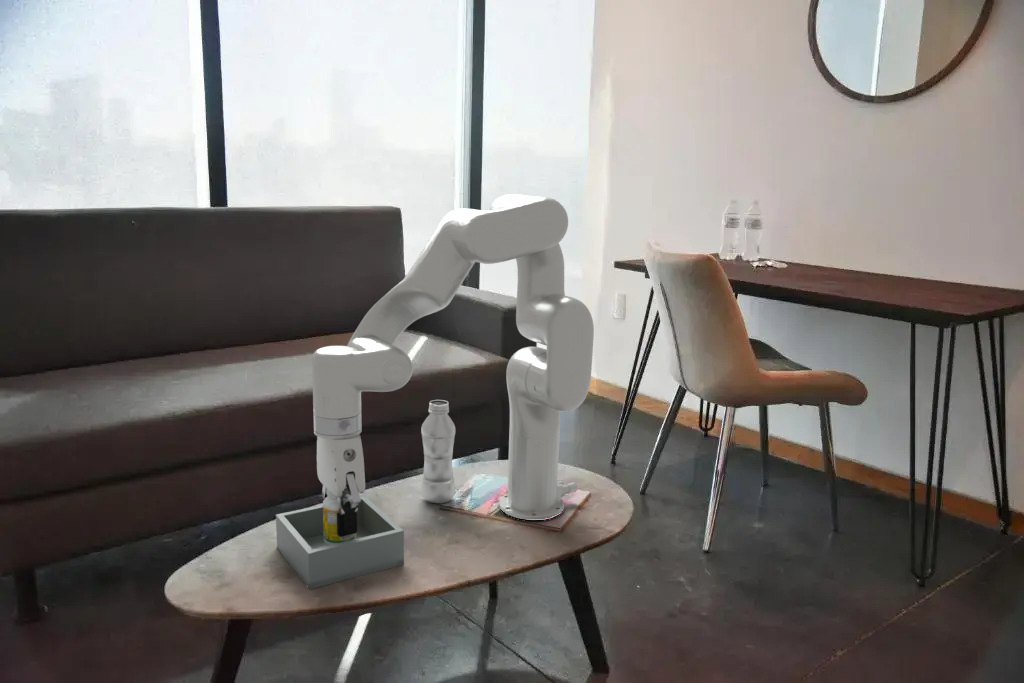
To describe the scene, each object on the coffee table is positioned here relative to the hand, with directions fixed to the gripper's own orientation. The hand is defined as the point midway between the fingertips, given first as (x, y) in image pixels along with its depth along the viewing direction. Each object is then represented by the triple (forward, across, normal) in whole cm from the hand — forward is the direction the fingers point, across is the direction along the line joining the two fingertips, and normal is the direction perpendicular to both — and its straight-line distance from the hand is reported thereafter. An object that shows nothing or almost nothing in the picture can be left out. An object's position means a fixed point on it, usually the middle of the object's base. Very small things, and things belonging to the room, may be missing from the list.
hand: (339, 525), depth 134 cm
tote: (+5, 0, 0) cm, 5 cm away
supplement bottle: (+3, 0, 0) cm, 3 cm away
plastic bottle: (+6, +12, -25) cm, 28 cm away
